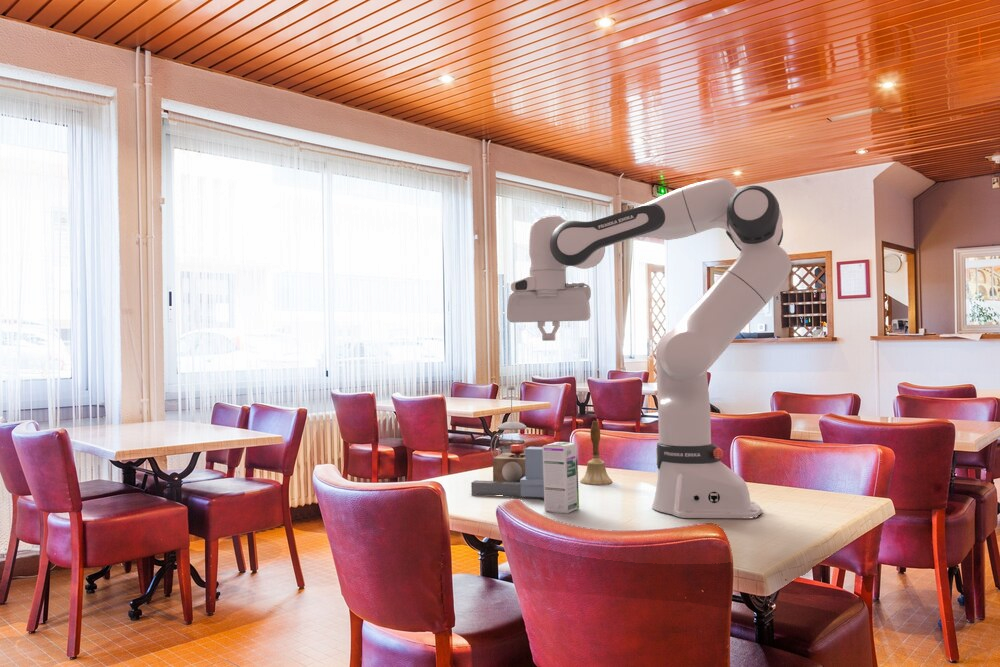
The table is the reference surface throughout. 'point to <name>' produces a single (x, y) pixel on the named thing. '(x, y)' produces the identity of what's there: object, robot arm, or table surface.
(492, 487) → the rail
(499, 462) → the brown wooden block
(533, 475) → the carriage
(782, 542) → the table surface
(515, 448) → the red capped bottle
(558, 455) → the syrup box
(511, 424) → the french press
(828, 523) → the table surface
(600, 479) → the hand bell
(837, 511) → the table surface
